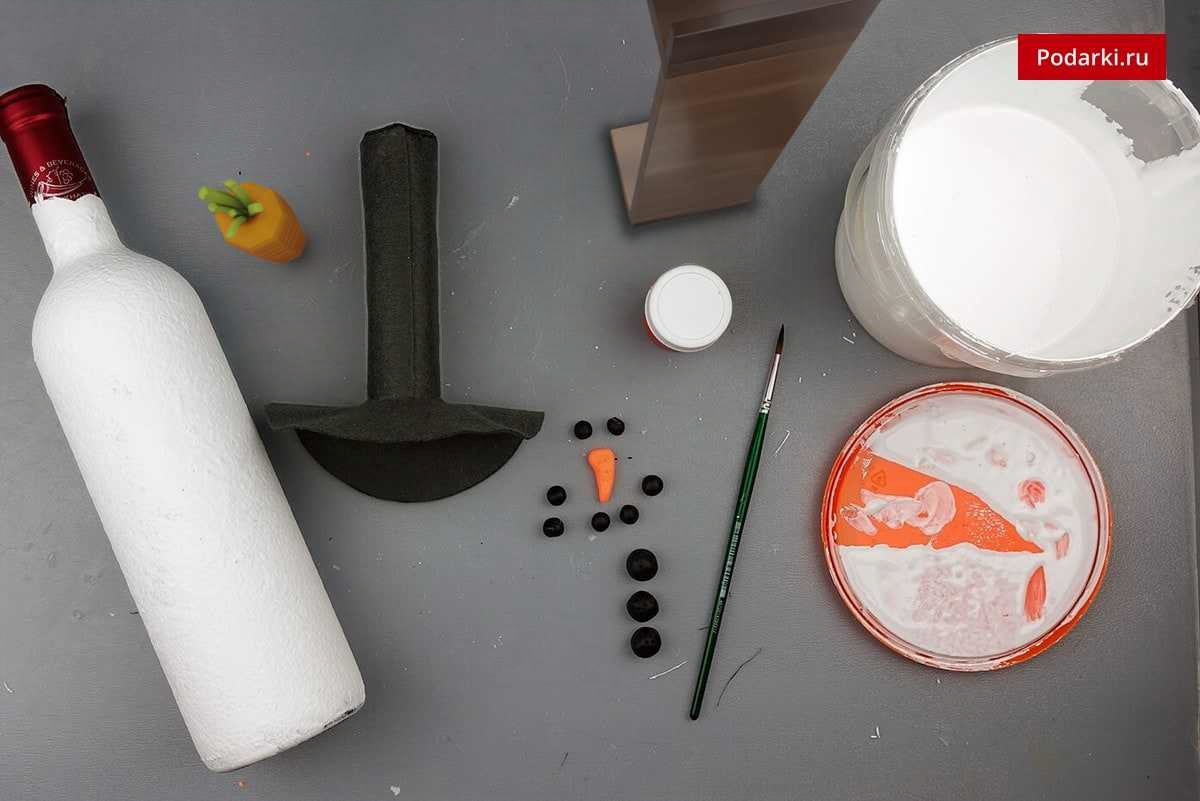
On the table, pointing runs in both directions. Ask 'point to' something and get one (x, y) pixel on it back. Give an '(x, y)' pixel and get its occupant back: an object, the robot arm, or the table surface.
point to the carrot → (256, 220)
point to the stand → (717, 133)
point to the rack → (749, 30)
